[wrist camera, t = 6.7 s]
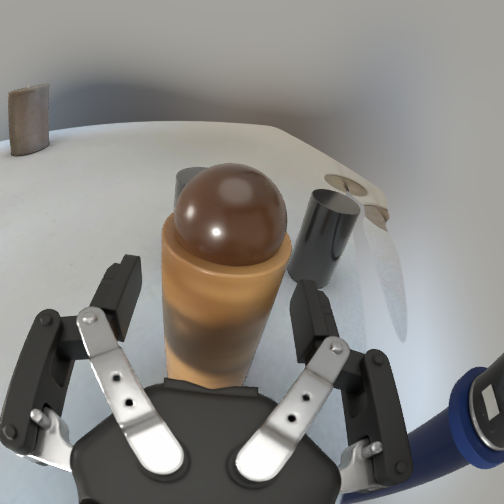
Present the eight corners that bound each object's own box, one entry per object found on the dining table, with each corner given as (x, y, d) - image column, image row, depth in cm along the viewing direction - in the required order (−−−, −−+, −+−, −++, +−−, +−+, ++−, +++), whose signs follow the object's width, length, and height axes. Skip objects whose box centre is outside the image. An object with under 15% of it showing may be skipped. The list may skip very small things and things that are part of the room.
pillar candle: (4, 159, 37) (1, 88, 29) (19, 144, 44) (17, 83, 36) (43, 152, 42) (42, 79, 33) (54, 139, 48) (55, 76, 40)
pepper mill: (242, 350, 19) (298, 158, 11) (242, 413, 15) (329, 215, 7) (173, 342, 18) (181, 139, 10) (163, 404, 14) (144, 187, 7)
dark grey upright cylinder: (324, 261, 30) (351, 194, 25) (334, 290, 26) (367, 218, 21) (284, 256, 29) (307, 185, 24) (290, 285, 26) (318, 208, 21)
